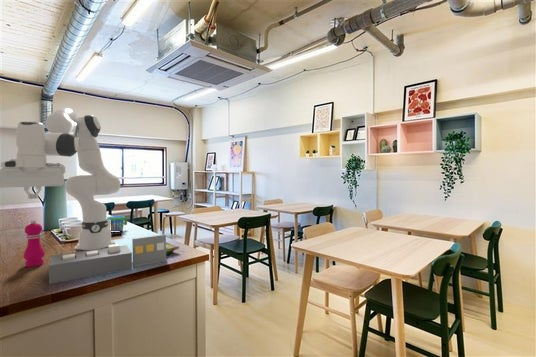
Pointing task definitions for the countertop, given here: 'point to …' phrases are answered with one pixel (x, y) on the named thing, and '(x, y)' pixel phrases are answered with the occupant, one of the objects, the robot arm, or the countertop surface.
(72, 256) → the key left
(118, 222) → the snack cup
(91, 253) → the key middle
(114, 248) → the key right
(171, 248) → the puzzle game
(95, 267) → the console
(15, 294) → the countertop surface
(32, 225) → the pepper mill
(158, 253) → the card
